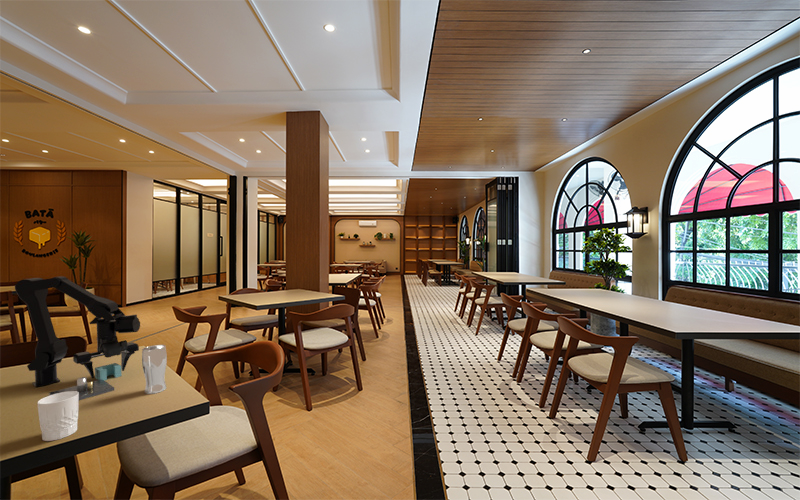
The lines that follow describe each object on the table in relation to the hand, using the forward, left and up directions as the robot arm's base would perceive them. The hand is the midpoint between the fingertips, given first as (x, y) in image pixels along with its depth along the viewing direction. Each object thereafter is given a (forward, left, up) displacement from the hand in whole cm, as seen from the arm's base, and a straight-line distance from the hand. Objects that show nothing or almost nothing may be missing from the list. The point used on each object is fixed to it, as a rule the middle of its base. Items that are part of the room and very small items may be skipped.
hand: (108, 374), depth 134 cm
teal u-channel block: (0, 0, -1) cm, 1 cm away
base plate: (+11, -10, -1) cm, 15 cm away
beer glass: (+31, +5, -1) cm, 31 cm away
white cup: (+42, -21, -1) cm, 47 cm away
